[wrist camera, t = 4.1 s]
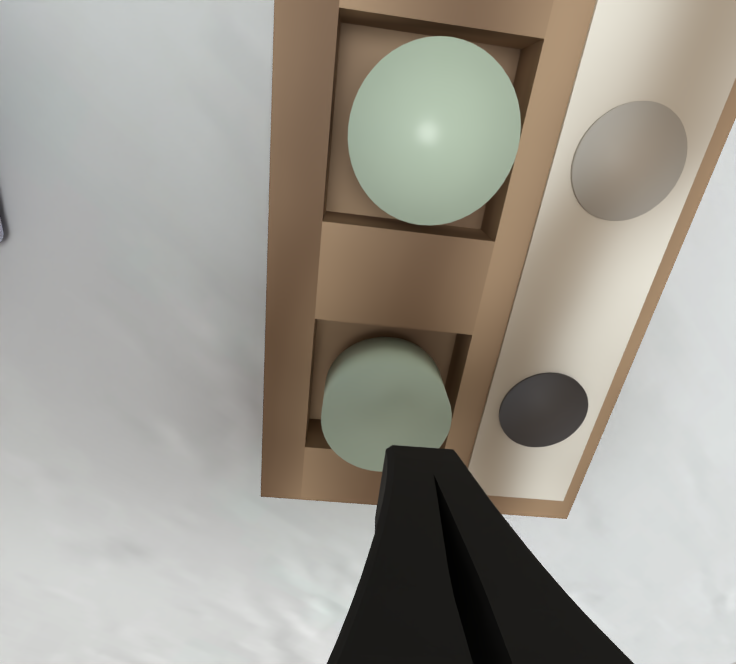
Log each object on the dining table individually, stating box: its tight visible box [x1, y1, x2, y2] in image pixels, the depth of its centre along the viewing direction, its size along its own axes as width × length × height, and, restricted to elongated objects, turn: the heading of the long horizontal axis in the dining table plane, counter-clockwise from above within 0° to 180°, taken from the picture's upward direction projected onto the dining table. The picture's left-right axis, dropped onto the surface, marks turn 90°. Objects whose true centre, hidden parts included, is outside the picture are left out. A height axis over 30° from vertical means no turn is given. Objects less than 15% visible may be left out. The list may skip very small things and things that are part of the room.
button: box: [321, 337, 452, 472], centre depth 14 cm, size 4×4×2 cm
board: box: [261, 0, 736, 519], centre depth 13 cm, size 12×26×3 cm, turn 173°
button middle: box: [348, 36, 521, 225], centre depth 11 cm, size 4×4×2 cm
